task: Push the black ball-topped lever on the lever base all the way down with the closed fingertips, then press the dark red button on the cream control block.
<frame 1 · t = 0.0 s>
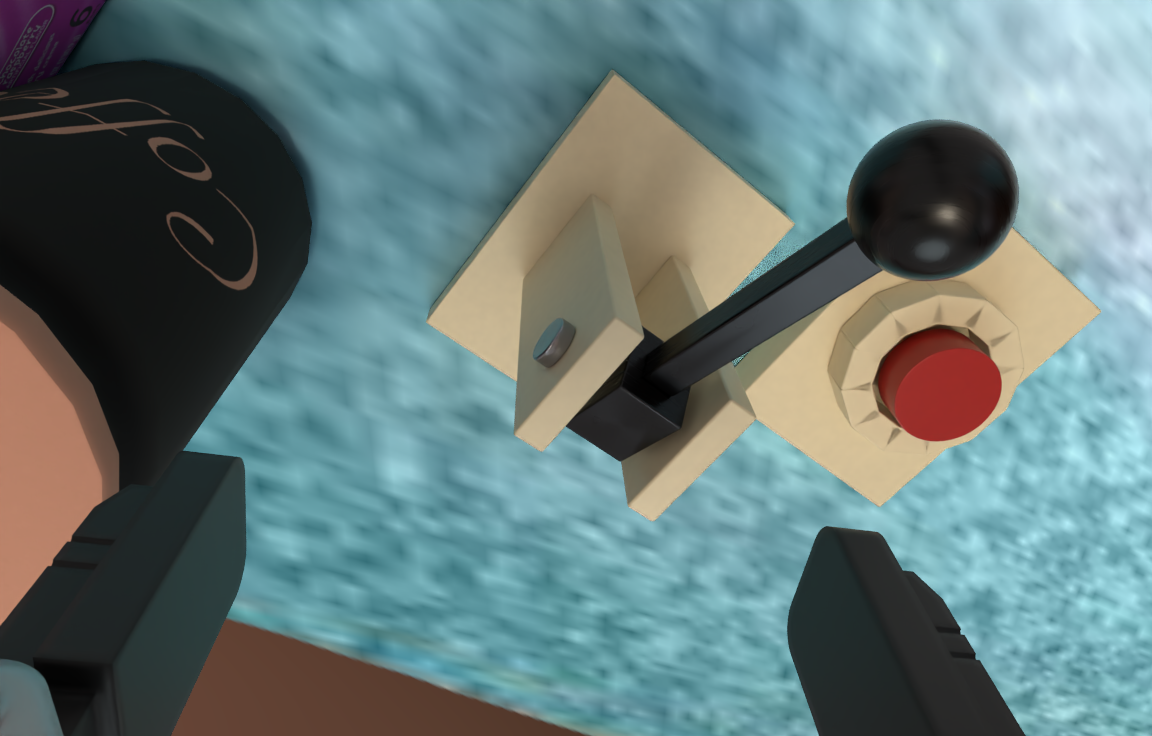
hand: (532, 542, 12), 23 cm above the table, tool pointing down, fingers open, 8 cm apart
button block: (894, 335, 36), on the table
coffee jar: (180, 200, 32), on the table, touching candy bar box
black lever: (756, 313, 20), point 13 cm above the table, hinge at 28.0°
cancel button: (938, 385, 32), point 4 cm above the table, slide at 0.1 cm
lever base: (604, 262, 34), on the table
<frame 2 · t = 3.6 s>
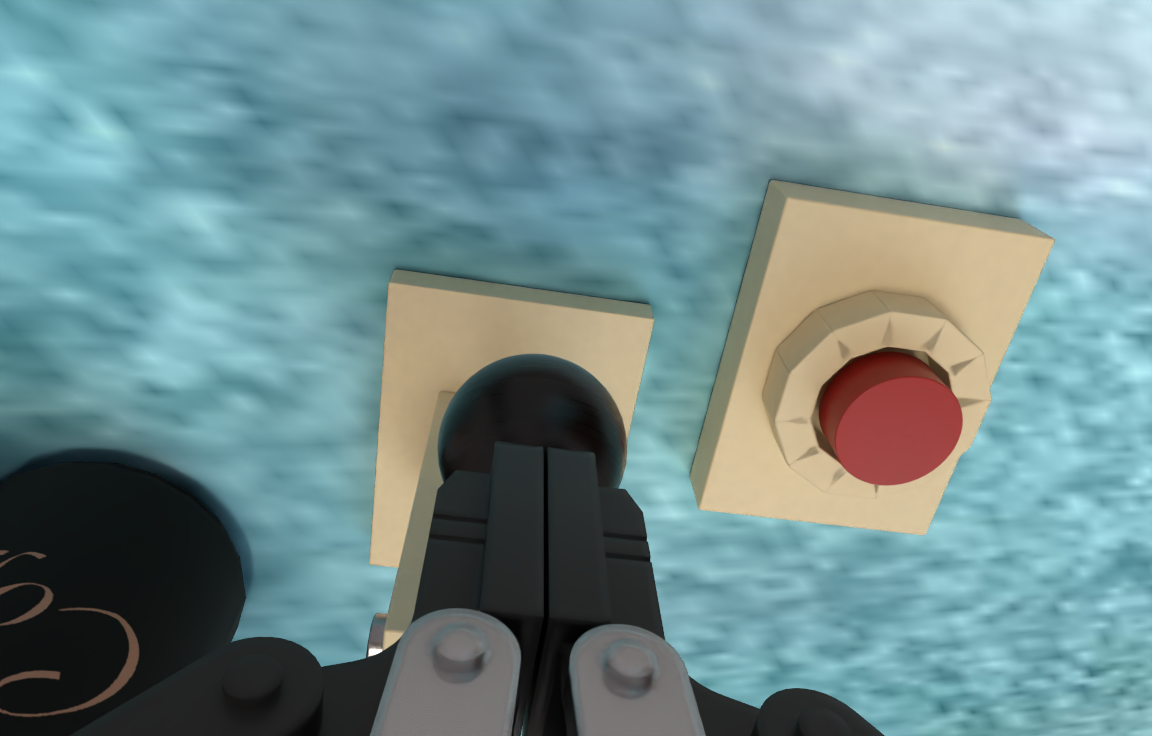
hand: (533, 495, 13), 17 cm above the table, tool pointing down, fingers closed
button block: (843, 356, 31), on the table
coffee jar: (122, 554, 34), on the table, touching candy bar box
black lever: (504, 569, 18), point 13 cm above the table, hinge at 24.6°, touching gripper
cancel button: (888, 419, 27), point 4 cm above the table, slide at 0.1 cm
lever base: (503, 432, 32), on the table
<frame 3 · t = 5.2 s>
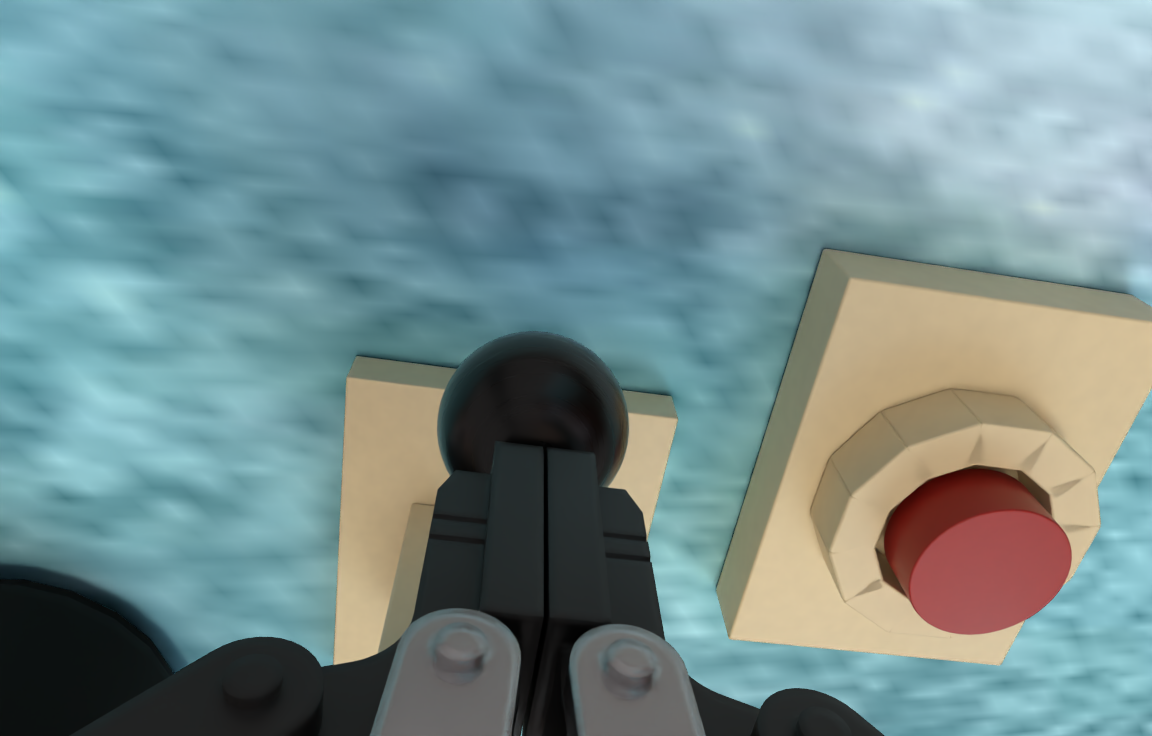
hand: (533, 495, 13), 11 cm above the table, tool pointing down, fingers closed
button block: (905, 455, 25), on the table
coffee jar: (39, 679, 28), on the table, touching candy bar box
black lever: (496, 679, 15), point 10 cm above the table, hinge at -12.2°, touching gripper
cancel button: (973, 552, 21), point 4 cm above the table, slide at 0.1 cm
lever base: (492, 542, 26), on the table
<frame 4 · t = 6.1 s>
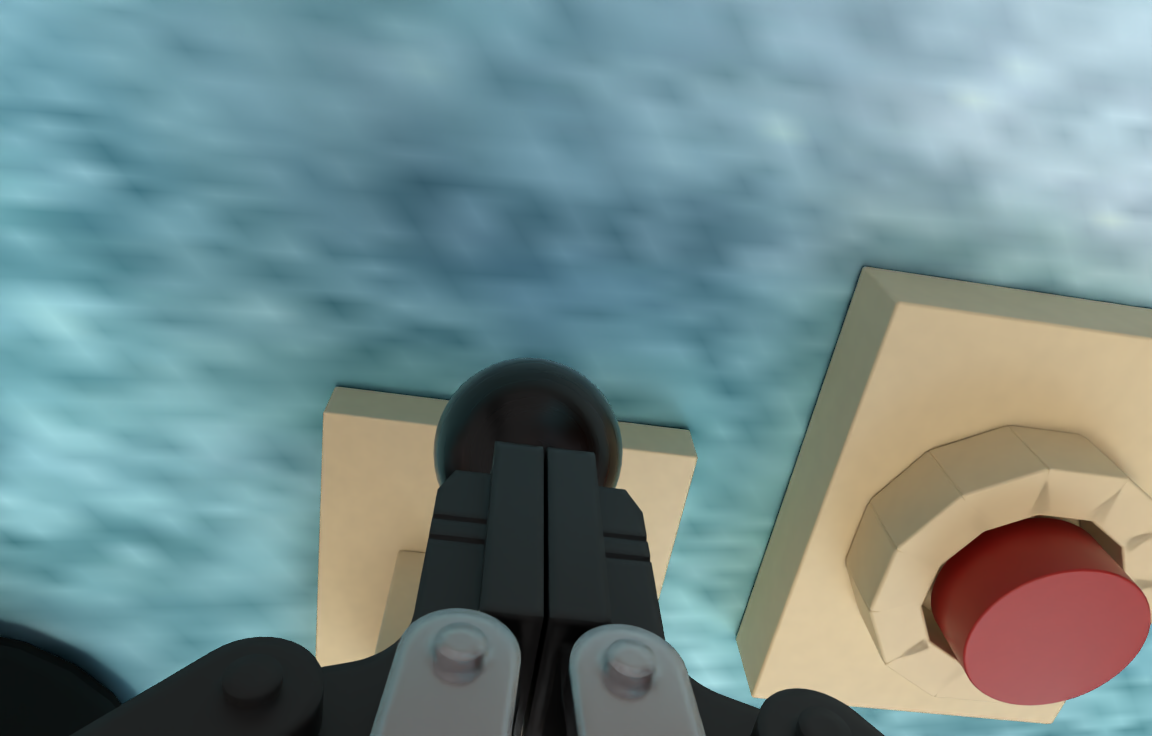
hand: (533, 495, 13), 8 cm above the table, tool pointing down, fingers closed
button block: (948, 493, 23), on the table
cancel button: (1035, 612, 19), point 4 cm above the table, slide at 0.1 cm
lever base: (488, 588, 24), on the table
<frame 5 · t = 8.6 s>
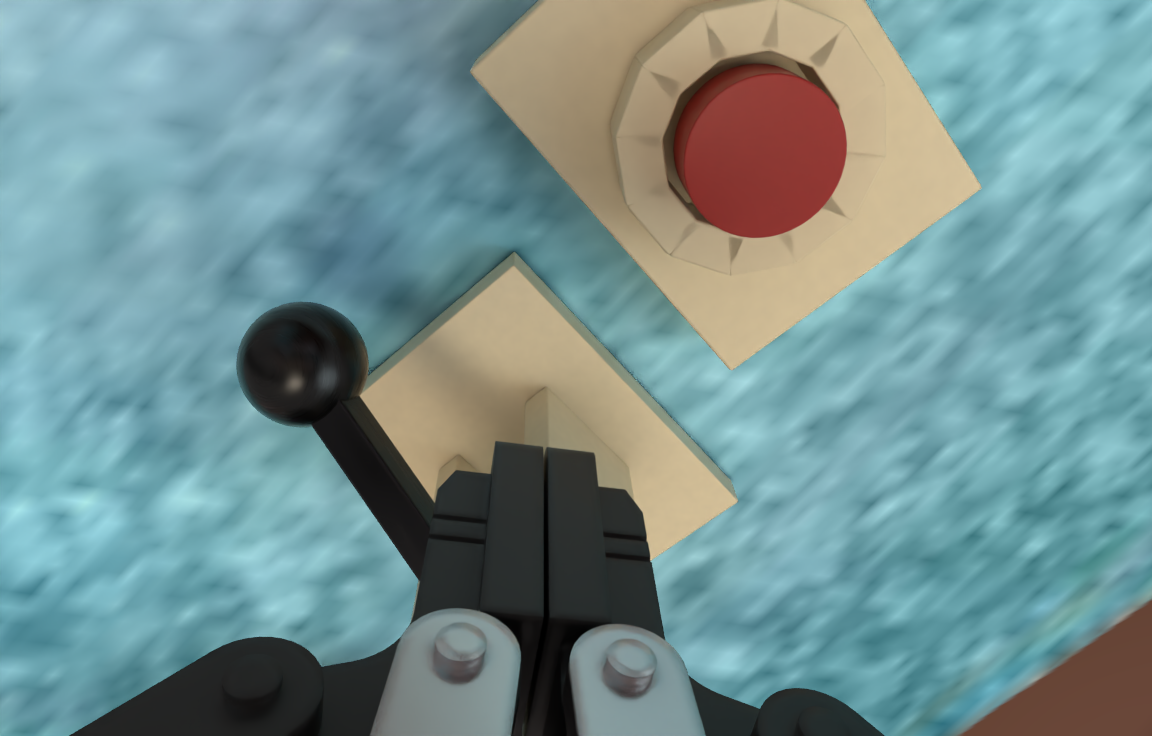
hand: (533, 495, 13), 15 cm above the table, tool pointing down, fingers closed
button block: (721, 117, 25), on the table
black lever: (413, 521, 21), point 9 cm above the table, hinge at -28.4°
cancel button: (757, 151, 21), point 4 cm above the table, slide at 0.1 cm
lever base: (534, 448, 30), on the table
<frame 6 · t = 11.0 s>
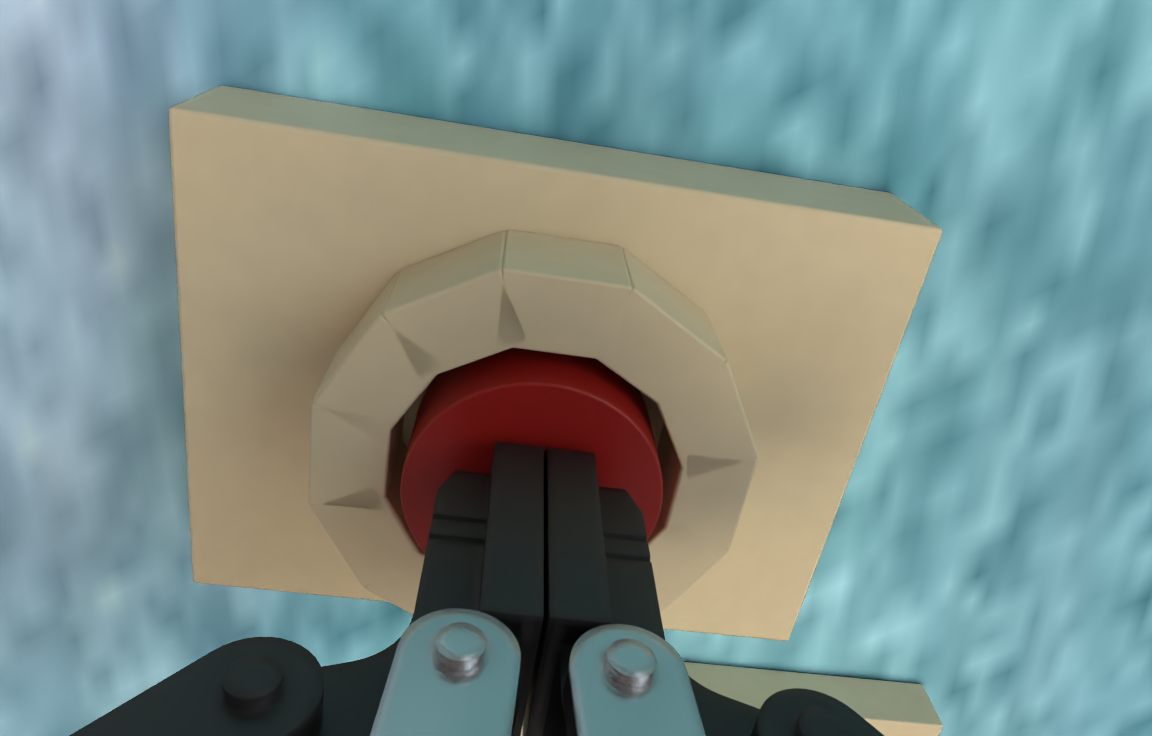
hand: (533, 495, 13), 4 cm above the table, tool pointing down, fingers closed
button block: (534, 366, 17), on the table
cancel button: (533, 466, 13), point 4 cm above the table, slide at -0.8 cm, touching gripper
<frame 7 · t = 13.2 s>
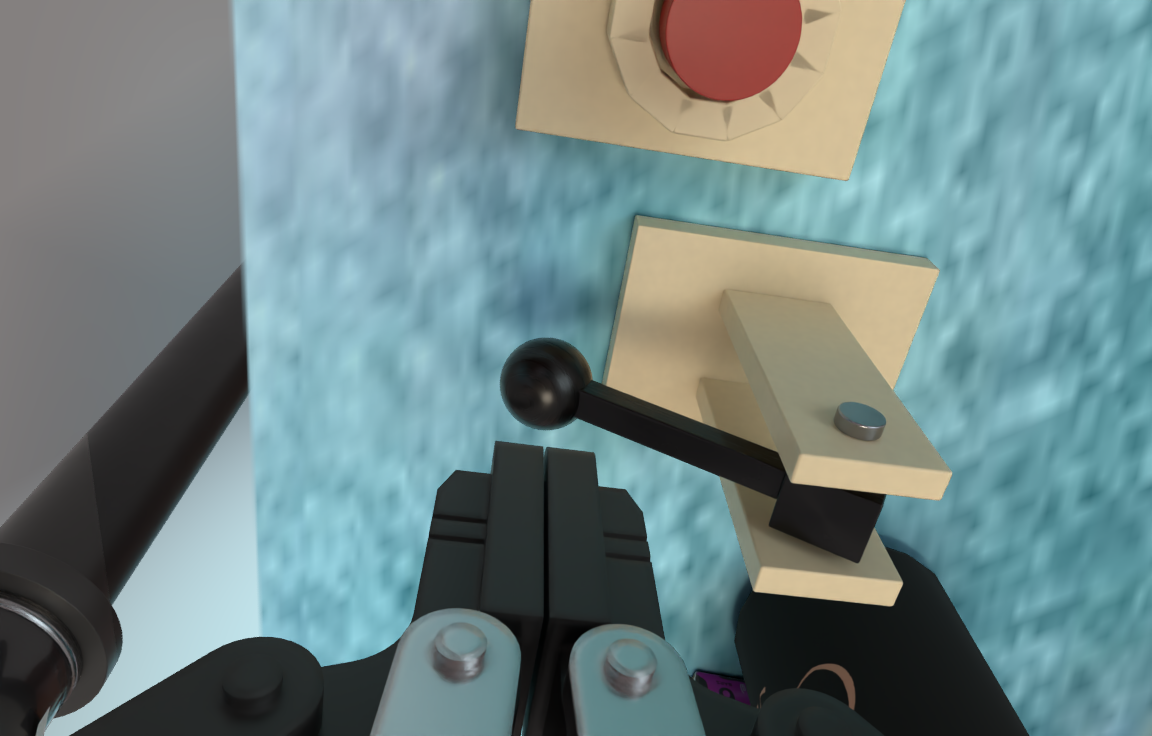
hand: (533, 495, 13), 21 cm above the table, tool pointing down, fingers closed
button block: (704, 12, 29), on the table
coffee jar: (832, 608, 43), on the table, touching candy bar box
candy bar box: (772, 708, 46), on the table, touching coffee jar
black lever: (677, 435, 27), point 9 cm above the table, hinge at -28.4°
cancel button: (728, 27, 25), point 4 cm above the table, slide at 0.1 cm
lever base: (754, 337, 35), on the table
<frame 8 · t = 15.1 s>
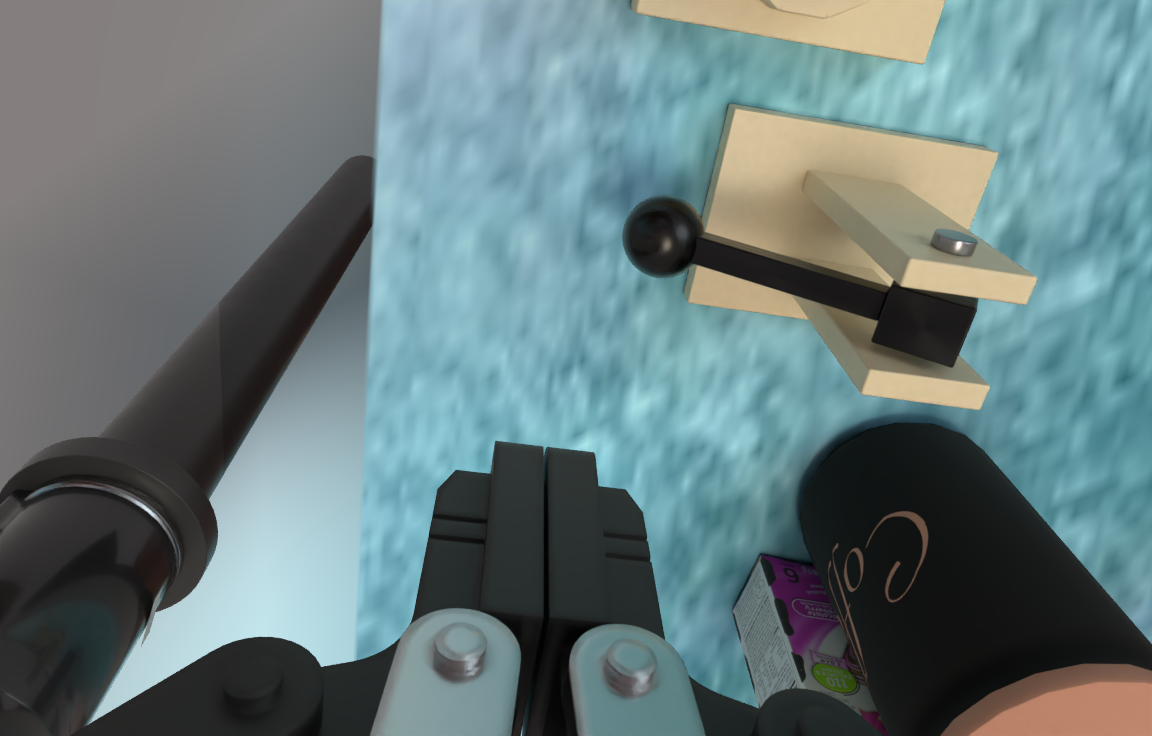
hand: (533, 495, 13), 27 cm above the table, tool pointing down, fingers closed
coffee jar: (887, 492, 46), on the table, touching candy bar box
candy bar box: (828, 594, 50), on the table, touching coffee jar
black lever: (784, 273, 31), point 9 cm above the table, hinge at -28.4°
lever base: (829, 222, 39), on the table
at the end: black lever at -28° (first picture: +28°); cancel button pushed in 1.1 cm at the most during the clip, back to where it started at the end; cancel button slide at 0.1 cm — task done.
